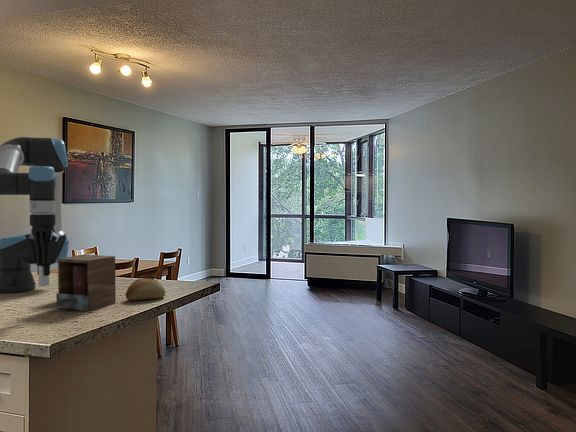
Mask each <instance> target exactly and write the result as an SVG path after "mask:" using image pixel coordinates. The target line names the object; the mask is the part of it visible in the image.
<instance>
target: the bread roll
mask: <svg viewBox="0 0 576 432" xmlns="http://www.w3.org/2000/svg"><path fill="white" fill-rule="evenodd" d="M165 295H166V290H165V288H164V286H163V284H162V283H161V281H159V280H157V279H155V278H150V277H149V278H139V279H136V280H135V281H132V283H131V284H130V285H129V286H128V287H127V290H126V291H125V298H126V300H129V301H138V300H139V301H140V300H141V301H142V300H152V299H153V300H155V299H156V300H157V299H163V298H164V297H165Z"/></svg>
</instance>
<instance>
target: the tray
mask: <svg viewBox="0 0 576 432" xmlns="http://www.w3.org/2000/svg"><path fill="white" fill-rule="evenodd" d="M55 297H56V299H55V300H56V308H57V309H58V308H59V309H67V310H68V309H69V310H77V311H87V312H89V311H88V310H89V296H84V295H74V294H63V293H58V292H56V295H55Z"/></svg>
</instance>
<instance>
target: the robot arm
mask: <svg viewBox="0 0 576 432" xmlns="http://www.w3.org/2000/svg"><path fill="white" fill-rule="evenodd" d="M66 149H67V148H66V146H65V142H64V140H62V139H61V138H54V137H33V136H32V137H27V136H20V137H14V138H12V139H9V140H6V141H4V142H3V143H2V144H1V145H0V196H14V195H15V196H29V213H30V215H29V226H31V227H32V228H31V232H30V233H21V234H14V235H9V236H4V237H1V238H0V293H2V294H11V293H13V294H14V293H22V292H29V291H32V290H35V289H36V281H35V279H34V276H33V273H32V269H31V265H36V267H37V269H36V271H37V276H38V287H45V286H49V285H50V275H51V265H54V264H58V259H60V258H66V257H68V253H69V244H70V236H69V235H67V234H66V231H65V230H64V229H63V228H62V226H63V225H62V193H61V192H62V191H61V190H62V185H61V184H62V183H61V179H62V178H61V177H62V174H63V173H64V172H65V168H68V167H69V163H68V157H67V151H66ZM20 166H23V167H29V168H28V172H18V171H19V167H20Z"/></svg>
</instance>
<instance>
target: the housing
mask: <svg viewBox="0 0 576 432" xmlns="http://www.w3.org/2000/svg"><path fill="white" fill-rule="evenodd" d="M78 264H87V277H88V296H89V310H88V311H87V312H92V311H94V310H97V309H101V308H104V307H107V306H111V305H114V304H117V303H116V294H117V293H116V255H114V256H113V255H98V254H81V255H73V256H67V257H66V258H60V259H58V263H57V280H58V281H57V282H58V283H57V287H58V289H57V290H58V291H57V293H63V294H73V267H74V265H78Z"/></svg>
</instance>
